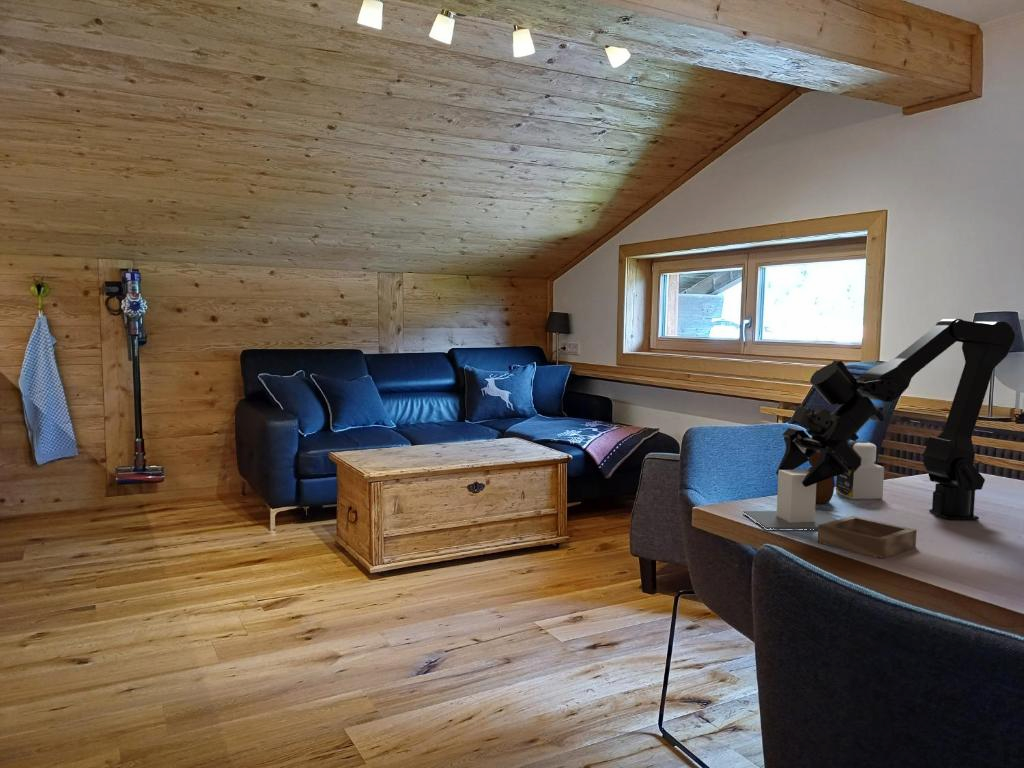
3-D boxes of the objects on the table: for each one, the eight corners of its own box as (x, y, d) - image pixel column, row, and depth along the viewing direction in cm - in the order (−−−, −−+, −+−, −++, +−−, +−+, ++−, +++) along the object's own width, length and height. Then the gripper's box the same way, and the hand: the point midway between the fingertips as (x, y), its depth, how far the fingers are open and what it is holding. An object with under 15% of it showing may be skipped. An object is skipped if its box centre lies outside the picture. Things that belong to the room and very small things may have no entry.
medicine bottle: (835, 492, 174) (837, 439, 173) (865, 492, 175) (868, 439, 174) (851, 499, 167) (854, 444, 166) (883, 499, 168) (886, 444, 167)
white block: (800, 515, 150) (802, 469, 150) (814, 521, 145) (816, 474, 145) (776, 515, 149) (778, 469, 149) (790, 522, 144) (792, 475, 144)
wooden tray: (851, 531, 141) (852, 515, 141) (915, 546, 132) (916, 529, 132) (817, 542, 134) (818, 525, 134) (882, 558, 125) (883, 540, 125)
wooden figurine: (836, 506, 160) (839, 435, 159) (806, 505, 161) (810, 433, 160) (829, 499, 167) (832, 430, 166) (801, 497, 168) (804, 429, 167)
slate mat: (821, 513, 154) (821, 510, 154) (851, 530, 142) (851, 527, 142) (742, 514, 153) (743, 511, 153) (766, 530, 141) (766, 527, 141)
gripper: (793, 387, 155) (740, 443, 154) (849, 397, 137) (790, 459, 136) (827, 426, 157) (775, 480, 156) (887, 440, 139) (828, 502, 138)
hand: (790, 479), depth 147 cm, fingers open, 9 cm apart
